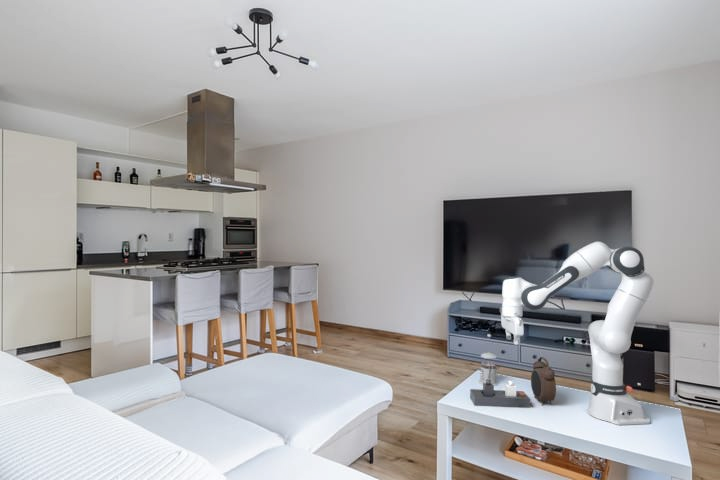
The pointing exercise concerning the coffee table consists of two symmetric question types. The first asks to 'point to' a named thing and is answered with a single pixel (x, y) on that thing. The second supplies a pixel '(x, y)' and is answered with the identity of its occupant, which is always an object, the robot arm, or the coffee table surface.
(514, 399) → the strip
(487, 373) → the french press
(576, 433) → the coffee table surface
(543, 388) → the alarm clock
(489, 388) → the twin plug
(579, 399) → the coffee table surface
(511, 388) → the white rectangular bottle
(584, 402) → the coffee table surface
